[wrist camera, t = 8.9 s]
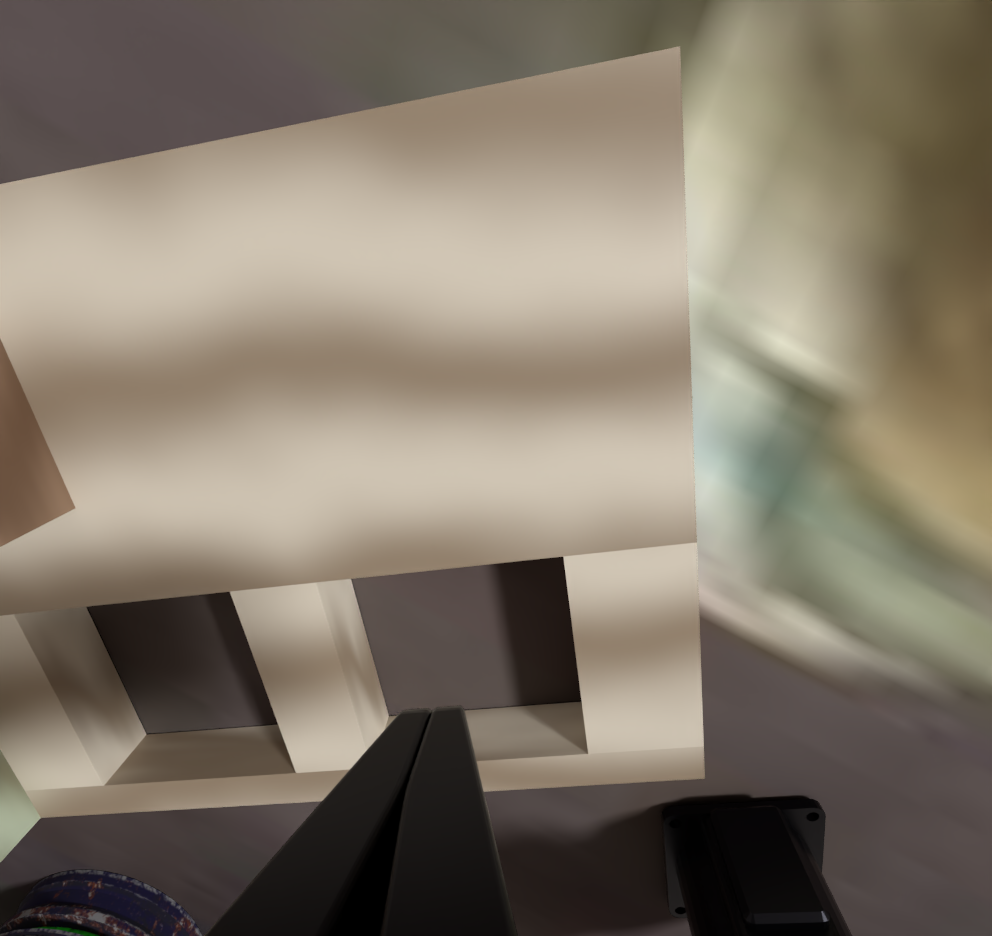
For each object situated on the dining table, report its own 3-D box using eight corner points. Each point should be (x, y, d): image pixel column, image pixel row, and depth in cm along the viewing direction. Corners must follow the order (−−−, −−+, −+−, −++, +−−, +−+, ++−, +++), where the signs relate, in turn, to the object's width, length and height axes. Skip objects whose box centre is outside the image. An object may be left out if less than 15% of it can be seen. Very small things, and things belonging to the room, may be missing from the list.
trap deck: (685, 723, 22) (723, 833, 17) (58, 767, 25) (-41, 870, 20) (655, 83, 14) (707, 3, 10) (-226, 256, 17) (-469, 251, 13)
